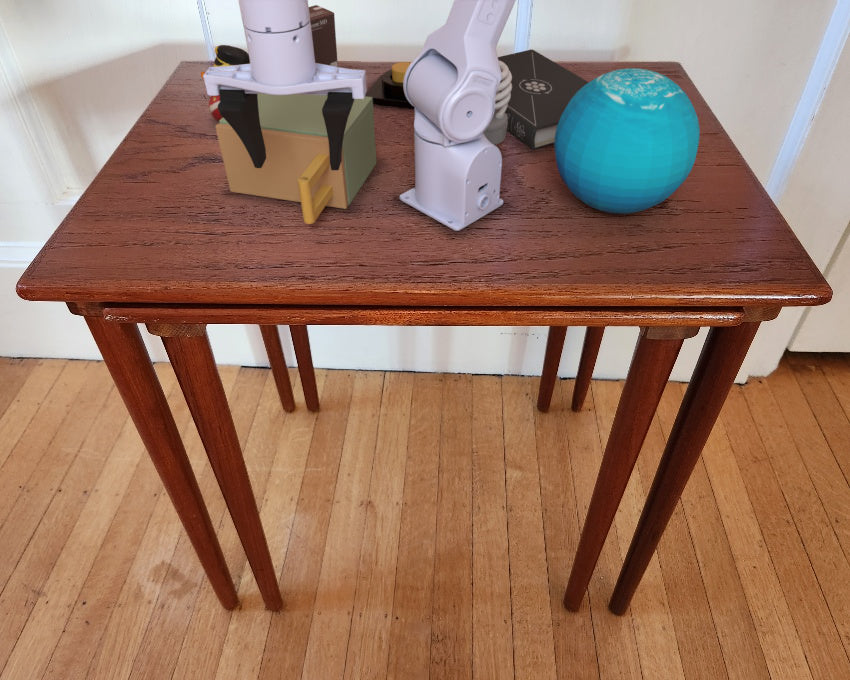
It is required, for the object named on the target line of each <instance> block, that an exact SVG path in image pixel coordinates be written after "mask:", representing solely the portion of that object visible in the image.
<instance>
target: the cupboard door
mask: <svg viewBox="0 0 850 680" xmlns="http://www.w3.org/2000/svg"><path fill="white" fill-rule="evenodd" d="M214 128H215V131H216V137H217V140H218V144H219V149H220V153H221V157H222V161H223V166H224V170H225V174H226V179H227V182H228V183H227V184H228V187H229V190H230V192H231V193H235V194H236V193H237V194H243V195H250V196H257V197H263V198H269V199H277V200H283V201H291V202H296V203H300V204H301V212H302V219H303V223H305V224H306V225H311V224H312V225H313V224H314V223H315V222H316V221H317V219H318V218H319V216H320V214H321V213H322V212H323V210H324V209H325V207H330V208H338V209H343V210H347V209H348V207H349V205H348V197H347V187H346V177H345V167H344V158H343V148H342V161H341V164H340V167H339V170H331V166H330V156H329V141H328V137H322V136H314V135H306V134H298V133H290V132H283V131H275V130H267V129H261V130H262V135H263V139H264V144H265V149H266V160H265V162H264V164H263V166H262V168H255V166H254V164H253V162H252V160H251V157H250V155H249V153H248V151H247V150H246V148H245V146H244V144H243V142H242V141H241V139H240V138H239V136H238V135H237V133H236V132H235V131H234V129H233V128H232V127H231V126H230V125H228V124H220V122H218V123H217V124H216V125H214Z"/></svg>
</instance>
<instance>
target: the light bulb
mask: <svg viewBox="0 0 850 680" xmlns="http://www.w3.org/2000/svg"><path fill="white" fill-rule="evenodd" d="M498 61H499V60H498ZM499 65H500V69H501V75H502V79H501V81H502V82H501V83H500V84H499V86H498V89H497V91H496V96H495V101H500V102H498V103H496V104H495V111H494V115H493V118H492V120H491V122H490V124H489V126H488V127H487V128H486V130H485V131H484V132H483V134H484V135H485V137H486V138H487V139H488V140H489V141H490V142H491V143H492V144H493V145H495V146H497V145H500V144H501V143H503V141H504V140H505V139H506V136H507V132H508V131H507V126H508V116H507V114H506V113H505V111H506V108H507V106H508V102H509V100H510V97H511V93H510V92H511V89H512V84H511V81H512V75H511V72H510V71H509V69H508V67H507V65H506V64H505V63H503V62H502V61H499ZM498 91H502V92H498ZM499 108H501V109H499Z"/></svg>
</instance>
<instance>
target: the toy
mask: <svg viewBox="0 0 850 680" xmlns="http://www.w3.org/2000/svg"><path fill="white" fill-rule="evenodd" d="M214 52H215V55H216V57H215V58H214V62H213V66H212V67H223V66H234V65H242V64H250V59H249V53H248V51H246V50H244V49H242V48H240V47H236V46H232V45H229V44H219V45H217V46H215V48H214ZM205 72H206V71H200V76H201V78H202V80H204V77H203V75H204V74H205ZM219 103H220V95H218V96H210V97H209V99H208V109H209V112H210V115H211V116H212V118H213V119H214V120H215V121H216V122H218V123H220V122H219V121H220V120H221V119H222V118H223V117H222V116H221V115H220V113H219V111H218V107H217V106H218V104H219Z"/></svg>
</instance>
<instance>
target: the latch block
mask: <svg viewBox="0 0 850 680" xmlns="http://www.w3.org/2000/svg"><path fill="white" fill-rule="evenodd" d="M367 90H368V91H366V95H365V96H367V97H372V98H373V105H377V106H385V107H386V106H387V107H395V108H403V109H412V110H415V109H414V108H415V107H414V106H412V105H411V104H410V103H409V102H408V100H407V99H406V96H405V94H404V89H403V83H400V82H395V81H393V80H392V68H391V69H389V70H386V71H384V72H383V74H380V75H379V76H378V77H377V79H376V80H375V82H374V83H373V84H372V85H371V86H370V88H369V89H367Z"/></svg>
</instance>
